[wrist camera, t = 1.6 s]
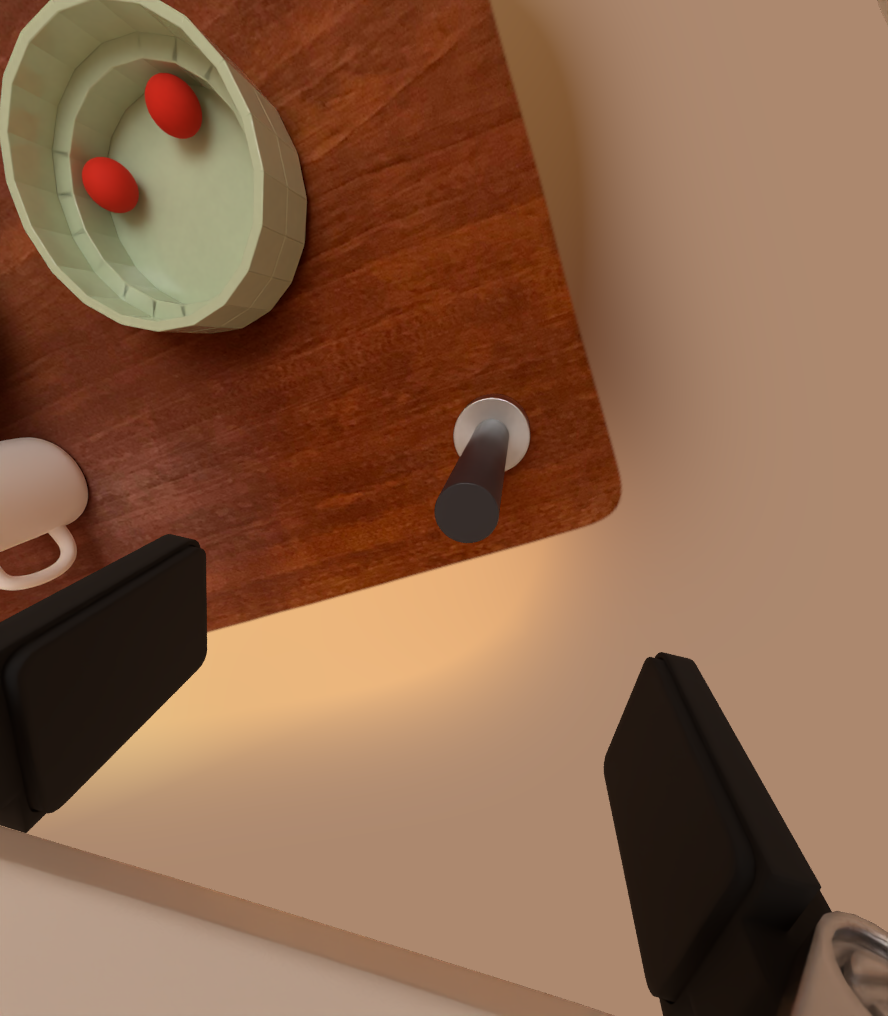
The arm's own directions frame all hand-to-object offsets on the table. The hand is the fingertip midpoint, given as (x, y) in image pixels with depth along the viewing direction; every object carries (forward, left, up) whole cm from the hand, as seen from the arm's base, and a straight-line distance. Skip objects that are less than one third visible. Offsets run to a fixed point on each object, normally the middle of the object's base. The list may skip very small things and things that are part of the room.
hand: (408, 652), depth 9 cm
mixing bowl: (+23, -11, -26) cm, 36 cm away
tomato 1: (+27, -11, -24) cm, 38 cm away
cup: (+37, +14, -26) cm, 47 cm away
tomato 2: (+23, -16, -24) cm, 36 cm away
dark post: (0, 0, -26) cm, 26 cm away
